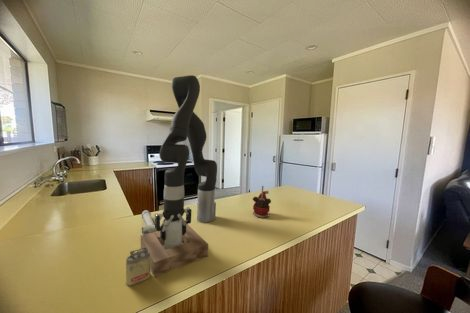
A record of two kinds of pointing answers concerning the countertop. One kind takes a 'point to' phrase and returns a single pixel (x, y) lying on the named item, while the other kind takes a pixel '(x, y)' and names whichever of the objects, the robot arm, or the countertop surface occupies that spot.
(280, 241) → the countertop surface
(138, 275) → the beige logo box
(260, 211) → the mouse candy apple
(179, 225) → the skincare box
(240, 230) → the countertop surface
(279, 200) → the countertop surface
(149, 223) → the white flashlight
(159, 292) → the countertop surface
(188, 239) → the holder block
